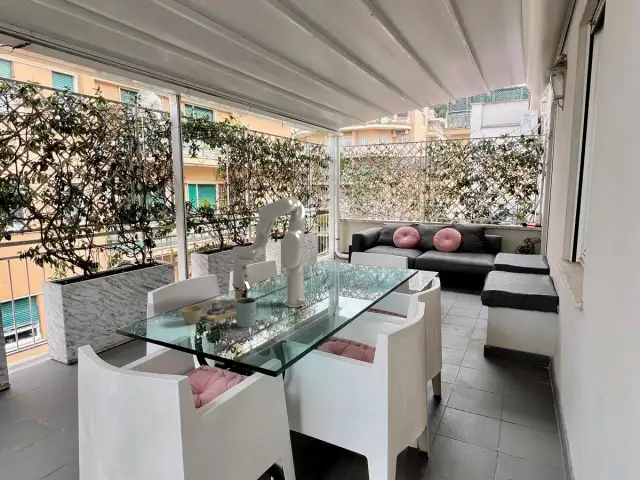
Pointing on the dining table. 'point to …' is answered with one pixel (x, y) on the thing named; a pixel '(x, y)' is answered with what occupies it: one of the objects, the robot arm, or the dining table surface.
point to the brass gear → (238, 294)
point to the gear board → (220, 311)
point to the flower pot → (191, 314)
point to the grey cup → (245, 312)
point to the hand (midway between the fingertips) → (241, 298)
